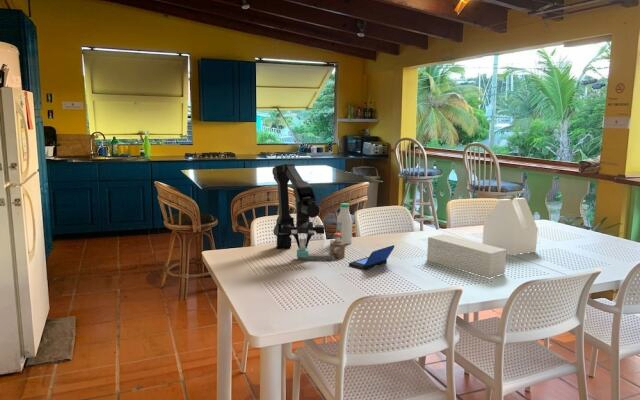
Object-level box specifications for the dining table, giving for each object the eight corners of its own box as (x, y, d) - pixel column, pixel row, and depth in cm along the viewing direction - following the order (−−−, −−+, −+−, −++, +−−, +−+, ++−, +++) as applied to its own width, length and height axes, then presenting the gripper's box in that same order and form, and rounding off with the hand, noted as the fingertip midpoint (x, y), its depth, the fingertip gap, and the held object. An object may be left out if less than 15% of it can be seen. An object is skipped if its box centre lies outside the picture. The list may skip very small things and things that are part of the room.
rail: (297, 260, 218) (297, 255, 218) (297, 258, 221) (297, 253, 221) (333, 260, 219) (334, 255, 219) (333, 258, 222) (333, 254, 221)
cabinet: (331, 257, 223) (331, 244, 222) (330, 252, 231) (330, 240, 230) (344, 257, 223) (344, 244, 222) (343, 252, 231) (343, 240, 230)
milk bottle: (351, 241, 254) (352, 202, 250) (351, 244, 246) (352, 205, 243) (336, 240, 254) (337, 201, 251) (335, 244, 247) (336, 204, 243)
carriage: (296, 257, 217) (296, 240, 216) (296, 253, 222) (297, 237, 221) (308, 257, 217) (308, 240, 216) (308, 253, 222) (308, 237, 221)
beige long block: (426, 260, 222) (428, 237, 220) (442, 256, 228) (443, 234, 227) (488, 279, 197) (490, 253, 195) (504, 275, 203) (506, 249, 201)
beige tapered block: (482, 246, 249) (485, 196, 244) (504, 243, 255) (508, 195, 251) (512, 255, 232) (516, 203, 227) (535, 252, 238) (540, 201, 234)
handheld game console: (370, 259, 223) (371, 239, 221) (394, 265, 213) (395, 244, 212) (347, 266, 212) (348, 245, 210) (372, 273, 202) (372, 251, 201)
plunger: (334, 245, 225) (334, 234, 224) (333, 243, 228) (333, 232, 227) (341, 245, 225) (341, 234, 224) (340, 243, 228) (340, 233, 227)
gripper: (280, 216, 208) (280, 253, 211) (325, 217, 209) (324, 253, 211) (281, 211, 219) (281, 246, 222) (324, 212, 220) (323, 246, 222)
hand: (302, 248), depth 219 cm, fingers closed on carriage, 3 cm apart
